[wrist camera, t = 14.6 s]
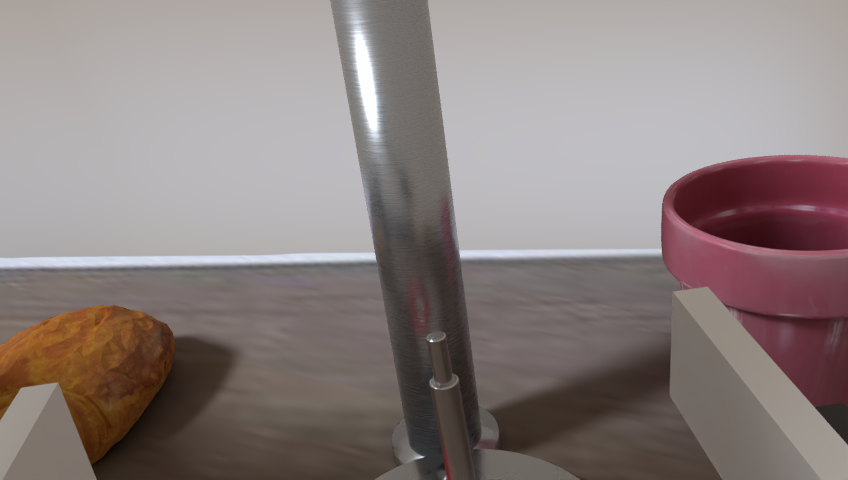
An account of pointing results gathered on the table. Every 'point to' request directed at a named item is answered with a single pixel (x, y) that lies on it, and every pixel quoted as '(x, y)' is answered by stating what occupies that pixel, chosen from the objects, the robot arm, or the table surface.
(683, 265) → the plant pot
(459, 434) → the tow hook
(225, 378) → the table surface
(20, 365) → the croissant
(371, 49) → the paper towel holder
